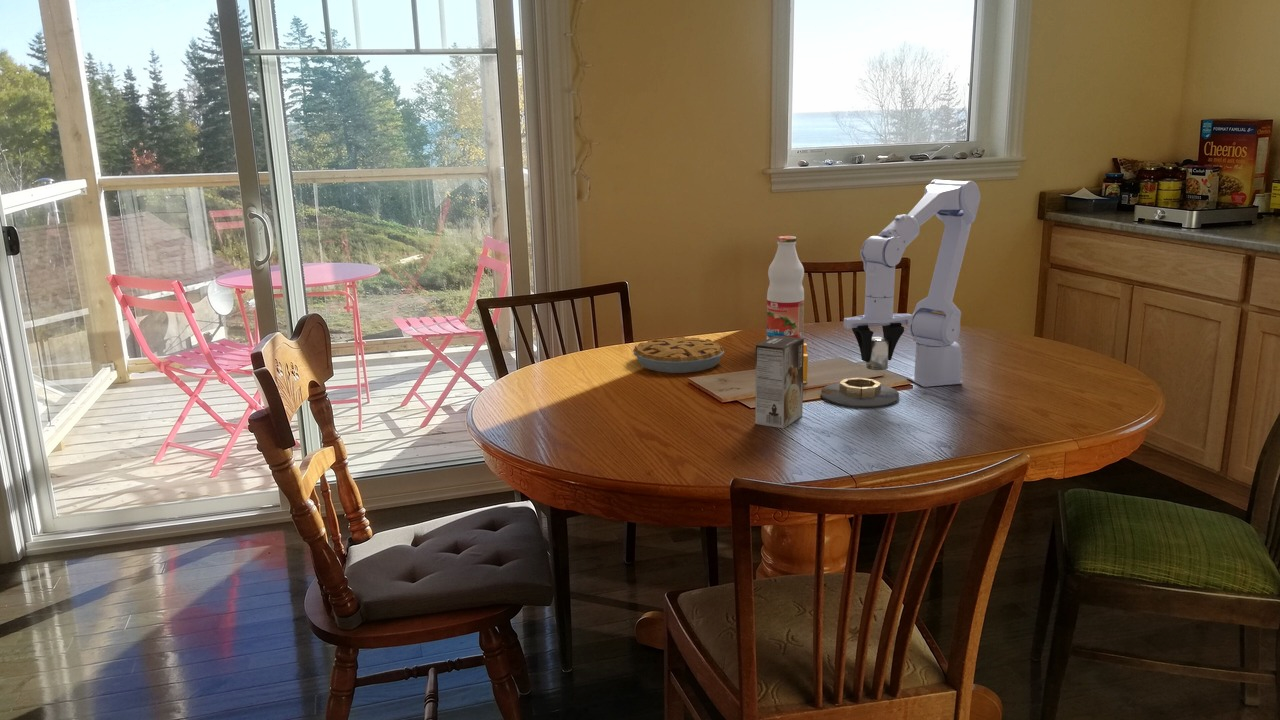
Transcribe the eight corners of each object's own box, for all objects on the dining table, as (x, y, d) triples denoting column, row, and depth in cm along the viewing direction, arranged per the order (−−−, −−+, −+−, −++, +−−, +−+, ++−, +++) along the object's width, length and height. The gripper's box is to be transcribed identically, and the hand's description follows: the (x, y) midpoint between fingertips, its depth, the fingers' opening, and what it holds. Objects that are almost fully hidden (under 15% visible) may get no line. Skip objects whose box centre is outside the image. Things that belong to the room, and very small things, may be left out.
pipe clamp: (787, 369, 225) (787, 342, 224) (805, 370, 225) (806, 343, 223) (787, 383, 214) (787, 355, 212) (806, 384, 213) (807, 356, 212)
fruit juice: (810, 345, 247) (813, 236, 240) (784, 351, 242) (787, 240, 235) (784, 338, 255) (786, 233, 248) (758, 344, 249) (760, 237, 242)
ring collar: (877, 383, 212) (877, 370, 211) (912, 404, 197) (913, 390, 196) (809, 389, 208) (809, 376, 208) (840, 410, 193) (841, 396, 193)
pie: (742, 365, 230) (742, 344, 229) (669, 380, 218) (668, 359, 217) (686, 348, 248) (686, 329, 247) (616, 361, 236) (615, 341, 235)
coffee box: (773, 411, 194) (774, 334, 190) (803, 416, 191) (805, 337, 186) (754, 424, 186) (754, 344, 182) (784, 429, 183) (786, 347, 179)
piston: (885, 364, 201) (887, 336, 199) (889, 370, 197) (890, 341, 195) (864, 364, 201) (865, 336, 200) (867, 370, 197) (869, 341, 195)
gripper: (901, 290, 201) (898, 352, 204) (838, 294, 197) (835, 358, 201) (919, 295, 194) (915, 360, 197) (853, 300, 191) (850, 366, 194)
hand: (876, 360), depth 199 cm, fingers closed on piston, 4 cm apart
